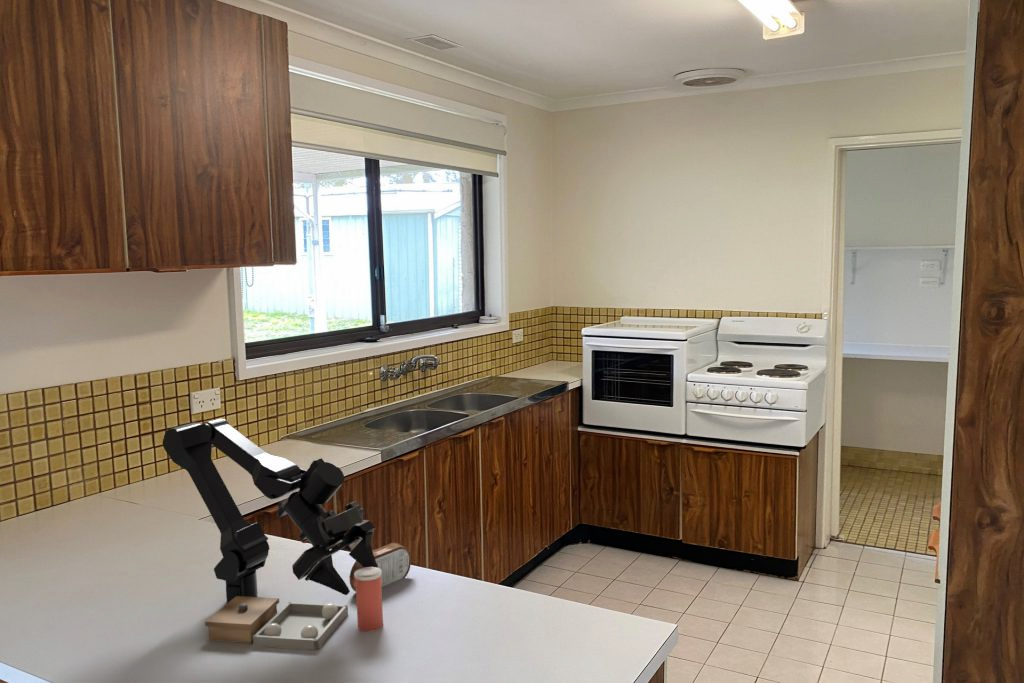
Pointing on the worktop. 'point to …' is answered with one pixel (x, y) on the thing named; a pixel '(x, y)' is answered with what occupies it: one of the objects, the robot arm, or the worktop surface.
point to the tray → (300, 626)
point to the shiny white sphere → (272, 630)
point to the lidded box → (241, 618)
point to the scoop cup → (369, 598)
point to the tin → (388, 564)
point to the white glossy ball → (309, 632)
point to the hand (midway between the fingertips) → (363, 583)
